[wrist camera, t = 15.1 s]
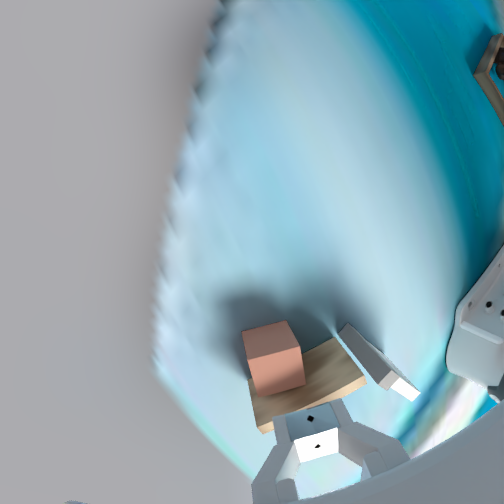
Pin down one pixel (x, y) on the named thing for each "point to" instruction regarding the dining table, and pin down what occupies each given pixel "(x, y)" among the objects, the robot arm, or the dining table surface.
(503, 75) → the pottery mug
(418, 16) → the dining table surface
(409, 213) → the dining table surface
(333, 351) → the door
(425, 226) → the dining table surface
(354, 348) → the light grey slab
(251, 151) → the dining table surface
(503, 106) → the frame
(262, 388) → the salmon pink block
